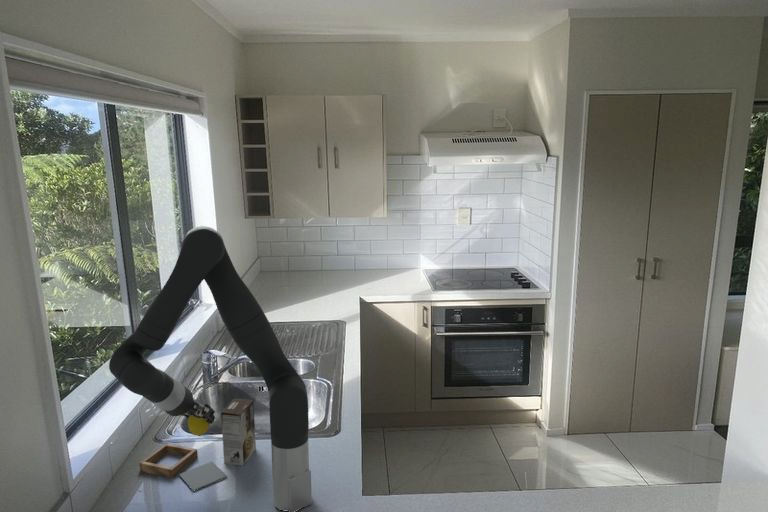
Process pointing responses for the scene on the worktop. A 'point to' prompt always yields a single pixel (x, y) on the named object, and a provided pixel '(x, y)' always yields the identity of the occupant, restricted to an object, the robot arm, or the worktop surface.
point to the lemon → (197, 425)
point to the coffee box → (238, 431)
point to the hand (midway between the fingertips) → (202, 418)
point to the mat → (203, 475)
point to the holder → (166, 471)
